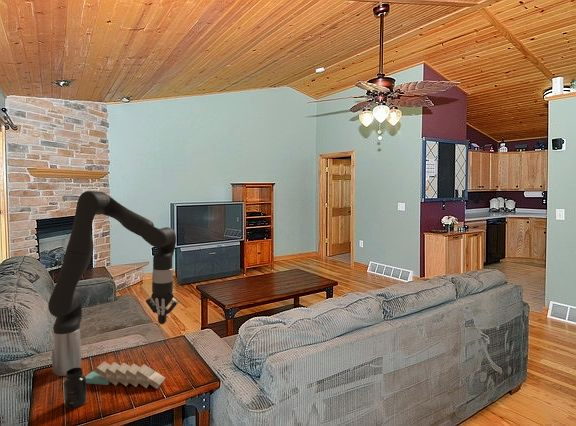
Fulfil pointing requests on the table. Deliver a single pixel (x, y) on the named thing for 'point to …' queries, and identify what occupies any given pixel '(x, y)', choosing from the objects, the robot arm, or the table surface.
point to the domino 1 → (96, 379)
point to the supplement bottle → (75, 388)
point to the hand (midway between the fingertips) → (162, 323)
